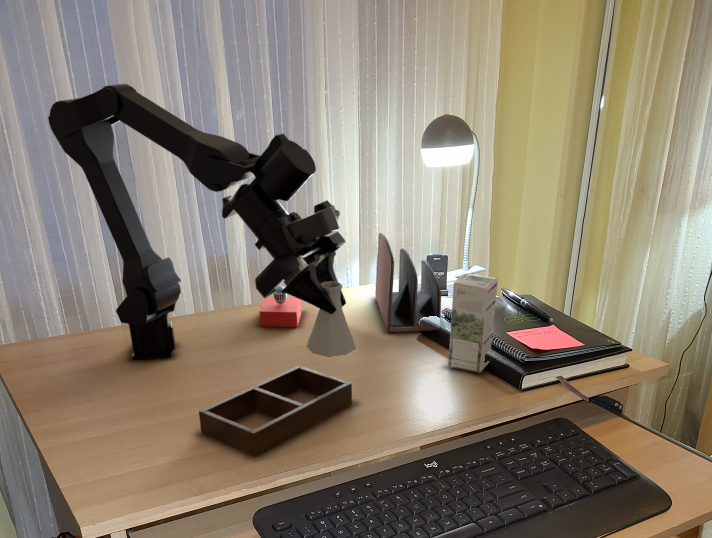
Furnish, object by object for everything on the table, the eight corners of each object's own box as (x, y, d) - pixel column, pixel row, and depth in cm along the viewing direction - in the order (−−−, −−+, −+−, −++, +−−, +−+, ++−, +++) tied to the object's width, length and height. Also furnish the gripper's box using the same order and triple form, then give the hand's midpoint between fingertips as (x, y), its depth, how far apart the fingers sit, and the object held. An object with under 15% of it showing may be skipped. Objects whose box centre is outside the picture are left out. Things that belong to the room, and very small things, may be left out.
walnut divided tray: (201, 433, 107) (198, 411, 105) (299, 385, 121) (298, 365, 119) (255, 457, 102) (253, 433, 100) (352, 404, 115) (352, 383, 113)
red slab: (297, 326, 142) (295, 293, 139) (260, 326, 143) (258, 292, 139) (301, 312, 149) (300, 279, 146) (266, 311, 149) (264, 279, 146)
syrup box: (490, 361, 130) (499, 276, 122) (479, 374, 125) (487, 286, 117) (458, 356, 132) (465, 271, 124) (446, 368, 127) (452, 281, 119)
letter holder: (386, 333, 140) (388, 255, 133) (375, 298, 157) (375, 227, 149) (440, 332, 141) (445, 254, 134) (423, 297, 158) (426, 226, 150)
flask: (327, 362, 113) (326, 295, 107) (297, 347, 117) (295, 282, 112) (364, 350, 117) (365, 285, 112) (334, 337, 121) (334, 273, 116)
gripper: (270, 197, 98) (347, 294, 101) (333, 173, 113) (399, 259, 115) (222, 251, 105) (296, 341, 108) (287, 222, 120) (351, 302, 122)
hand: (339, 308), depth 113 cm, fingers closed on flask, 3 cm apart
